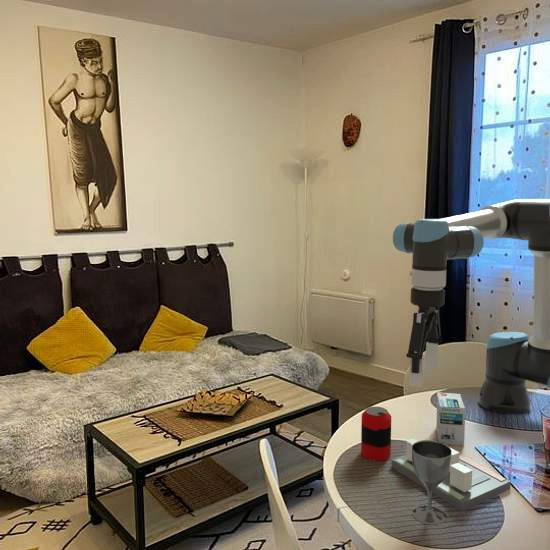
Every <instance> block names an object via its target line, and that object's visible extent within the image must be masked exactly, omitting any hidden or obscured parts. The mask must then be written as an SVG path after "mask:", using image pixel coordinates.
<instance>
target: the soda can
mask: <svg viewBox="0 0 550 550" xmlns="http://www.w3.org/2000/svg"><path fill="white" fill-rule="evenodd" d="M360 426H361V427H360V428H361V431H360V433H361V435H360V436H361V437H360V439H361V440H360V444H361V446H360V452H361V455H362V456H363V458H365V459H366V458H367V460H369V459H370V460H369V461H372V460H375V461H374V462H383V461H386V460H388V459H389V458H390V457H391V454H392V453H391V451H392V449H391V448H392V415H391V413H390V412H389V411H388V409H386V408H385V407H383V406H369V407H366V409H365V410H364V411H363V412H362V413H361V425H360Z"/></svg>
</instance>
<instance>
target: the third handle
mask: <svg viewBox="0 0 550 550" xmlns="http://www.w3.org/2000/svg"><path fill="white" fill-rule="evenodd" d="M450 484H451V485H452V486H454V487H456V488H457V489H459V490H461V491H463V492H466V491H468V490H471V488H472V470H471V469H469V468H467V467H465V466H463V465H461V464H460V463H456V464H453V465H451V466H450Z"/></svg>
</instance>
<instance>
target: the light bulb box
mask: <svg viewBox="0 0 550 550" xmlns="http://www.w3.org/2000/svg"><path fill="white" fill-rule="evenodd" d="M466 411H467V410H466V406H465V403H464V402H463V398H462V394H460V393H451V392H450V393H449V392H439V391H438V392H436V427H435V428H436V433H437V439H438V442H441V443H444V444H446V445H453V446H465V435H466V434H465V431H466V430H465V429H466V427H465V426H466Z"/></svg>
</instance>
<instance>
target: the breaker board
mask: <svg viewBox="0 0 550 550" xmlns="http://www.w3.org/2000/svg"><path fill="white" fill-rule="evenodd" d="M459 463H460V464H461V465H463V466H465V467H467V468H469V469H471V470H472V488H471V490H468V491H466V492H463V491H461V490H459V489H457V488H456V487H454V486H452V485H451V484H450V472H449V473H448V475H447V478H446V479H445V480H444V481H443V482H442V483H440V484H439V485H438V486H437V487H436V488H435V489H434V492H433V495H435V496H437V497H439V498H440V499H441V500H443V501H445V502H447V503H448V504H449V505H451V506H453V508H456V509H458V510H460V511H461V512H463V511H466V510H467V509H468V510H469V509H470V508H473V507H475V506H476V505H478V504H481V503H483V502H486V501H488V500H490V499H493V498H494V497H496V496H499V495H501V494H503V493H506V492H508V491H510V490H511V480H509V479H508V478H505V477H503V476H501V475H499V474H497V473H496V472H493V471H491V470H490V469H488V468H486V467H484V466H482V465H480V464H478V463H476V462H474V461H472V459H471V460H470V459H469V458H466V457H465V456H463V455H461V454H460V457H459ZM391 468H392V469H394V470H395V471H397V472H399V473H400V474H402V475H404V476H405V477H406V478H408V479H410V480H412V481H413V482H415V483H416V484H417V485H419V486H420V487H422V488H424V489H426V487H425V485H424V484H423V483H422V482H421V481H420V479H419V478H418V477H417V476H416V474H415V472H414V468H413V462H412V461H410V460H408V459H407V458H406V454H403V455H401V456H398V457H395V458H392V459H391Z"/></svg>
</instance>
